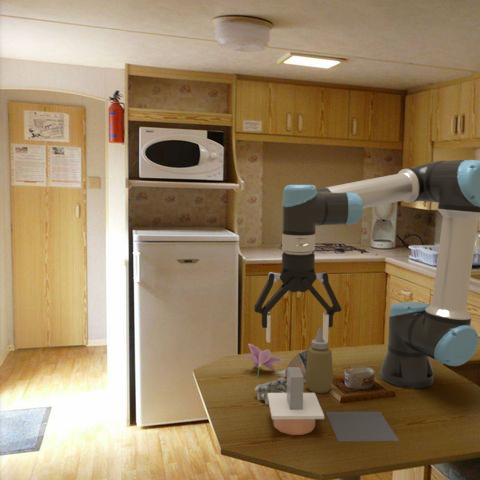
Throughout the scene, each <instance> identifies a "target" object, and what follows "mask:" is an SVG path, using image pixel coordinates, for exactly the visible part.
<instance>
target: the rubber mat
mask: <svg viewBox="0 0 480 480" xmlns="http://www.w3.org/2000/svg"><path fill="white" fill-rule="evenodd" d="M325 413H326V416H327V419H328V420H329V424H330V425H331V428H332V430H333V432H334V435H335V437H336V440H337V442H341V443H342V442H343V443H344V442H400V441H399V439H398V437H397V436H396V434H395V432H394V431H393V429H392V428H391V426H390V425H389V423H388V421H387V420H386V419H385V417H384V415H383V413H382V412H381V411H325Z"/></svg>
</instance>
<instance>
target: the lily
mask: <svg viewBox="0 0 480 480" xmlns="http://www.w3.org/2000/svg"><path fill="white" fill-rule="evenodd" d="M247 344H248V345H247V346H248V348H249V350H250V353H247V354H243V355H242V357H244V358H247V359H249V360H252V361H253V367H255V368H258V370H257V377H256V378H257V379H259V374H260V369H261V366H264V367H266V368H268V369H269V370H271V371H272V372H275V370H276V369H275V366H274V365H273V364H274V363H282V362H283V363H284V362H285V360H284V359H283V358H281V357H279V356H276V355H272V354H271V349H269V348H268V349H264V350H262V349H261V348H259V347H257V346H255V344H252V343H247Z"/></svg>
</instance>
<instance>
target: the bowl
mask: <svg viewBox="0 0 480 480" xmlns="http://www.w3.org/2000/svg"><path fill="white" fill-rule="evenodd" d="M272 424H273V428H274V429H276V430H278V432H280V433H284V434H287V435H291V436H296V435H297V436H303V435H307V434H308V433H312V432H313V430H314V429H315V427H316V419H272Z"/></svg>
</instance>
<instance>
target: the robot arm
mask: <svg viewBox="0 0 480 480" xmlns="http://www.w3.org/2000/svg"><path fill="white" fill-rule="evenodd" d="M401 201H403V202H404V203H407V204H409V203H415V202H427V203H429V202H430V203H438V206H437V211H438V212H439V213H440V214H441V217H442V222H441V230H440V239H439V245H438V253H437V262H436V269H435V276H434V285H433V293H432V300H431V303H426V302H421V301H420V302H419V301H405V302H396V303H393V304H392V305H391V306H390V309H389V315H388V338H387V339H388V341H387V343H388V344H387V352H386V355H385V357H384V358H383V362H382V365H381V366H380V378H381V379H382V380H383V381H384V382H387V383H389V384H391V385H393V386H398V387H401V388H406V389H423V388H424V389H425V388H429V387H430V386H432V385H433V384H434V378H435V376H434V375H435V373H434V370H433V366H432V362H431V360H430V358H431V359H434V360H435V361H436V362H438V363H441V364H444V365H447V366H451V367H459V366H462V365H464V364H465V363H467V362H468V361H469V360H470V359H471V358H473V356H474V355H475V353H476V351H477V350H478V347H479V334H478V333H477V330H476V329H475V328H474V327H473V326H471V323H472V315H471V314H470V313H469V311H468V309H467V306H468V305H467V304H468V297H469V291H470V282H471V275H472V269H473V267H472V266H473V261H474V255H475V254H474V253H475V252H474V251H475V246H476V239H477V238H476V237H477V233H478V232H477V231H478V223H479V220H480V160H476V159H464V160H463V159H462V160H459V159H458V160H456V159H455V160H437V161H432V162H428V163H423V164H420V165H416V166H415V165H414V166H412V167H408V168H407V167H406V168H403V169H401V170H399V171H398V173H395V174H390V175H385V176H380V177H375V178H368V179H364V180H363V179H362V180H358V181H353V182H348V183H343V184H338V185H337V184H336V185H331V186H326V187H321V188H317V187H316V186H315V185H313V184H288V185H286V186H285V187H284V189H283V194H282V203H281V206H282V234H281V235H282V238H281V239H282V240H281V242H282V244H281V245H282V246H281V250H282V251H283V253H281V271H280V273H277V272H273V271H269V272H268V274H267V280H266V282H265V285H264V287H263V288H262V289H261V292H260V295H259V297H258V298H257V300H256V302H255V304H254V306H253V310H254V312H255V313H258V314H261V326H262V329H265V340H266V343H271V313H270V312H271V310H272V309H273V308H274V307H275V306H276V305H277V303H278V302H279V301H280V300H281V299H282V298H283V297H284V296H285V295H286V294H287V293H288V292H291V293H298V292H299V293H305V292H307V291H308V292H310V293H311V294H312V295H313V297H314V298H315V299H316V300H317V301H318V303H319V304H320V305H321V306H322V307H323V308H324V309H325V311H323V312H322V329H323V340H324V341H325V342H328V343H329V328H332V327H333V326H334V324H333V323H334V316H335V314H336V313H339V312H341V311H342V308H341V305H340V303H339V301H338V299H337V297H336V295H335V292H334V291H333V288H332V286H331V285H330V282H329V274H328V273H327V272H326V271H325V270H324V271H321V272H318V273H316V271H315V262H316V261H315V257H316V256H315V255H316V254H315V253H314V251H315V250H316V226H318V227H319V226H334V225H335V226H337V225H341V226H342V225H343V226H344V225H345V226H347V225H354V224H357V223H358V222H360V220H361V219H362V217H363V214H364V213H363V212H364V210H365V209H368V208H372V207H378V206H382V205H387V204H392V203H396V202H401ZM279 279H280V281H281V282H282V284H281V285H280V286H279V288H278V290H276V292H275V293H274V294H273V295H272V297H270V298H269V300H268V301H267V302H266V300H267V297H268V295H269V294H270V293H271V291H272V290H271V289H272V287H273V286H274V283H277V282H278V280H279ZM316 280H318V281H319V282H320V283H321V284H322V285H323V287H324V289H325V291H326V294H327V295H328V297H329V300H330V302H331V304H332V306H330V304H328V303H327V302H326V301H327V300H325V299H324V298H323V297H322V295H321V294H320V293H319V292H318V290H317V289H316V288H315V287H314V286H313V284H314V282H316ZM264 303H265V304H264Z"/></svg>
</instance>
